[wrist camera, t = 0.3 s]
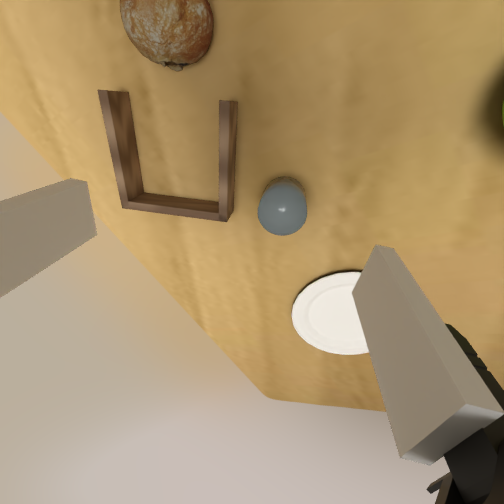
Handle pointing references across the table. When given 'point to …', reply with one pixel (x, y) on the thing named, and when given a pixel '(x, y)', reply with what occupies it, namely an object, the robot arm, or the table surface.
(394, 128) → the table surface
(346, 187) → the table surface
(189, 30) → the bread roll
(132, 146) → the corral
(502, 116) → the lettuce
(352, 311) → the plate
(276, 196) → the grey-blue cylinder
